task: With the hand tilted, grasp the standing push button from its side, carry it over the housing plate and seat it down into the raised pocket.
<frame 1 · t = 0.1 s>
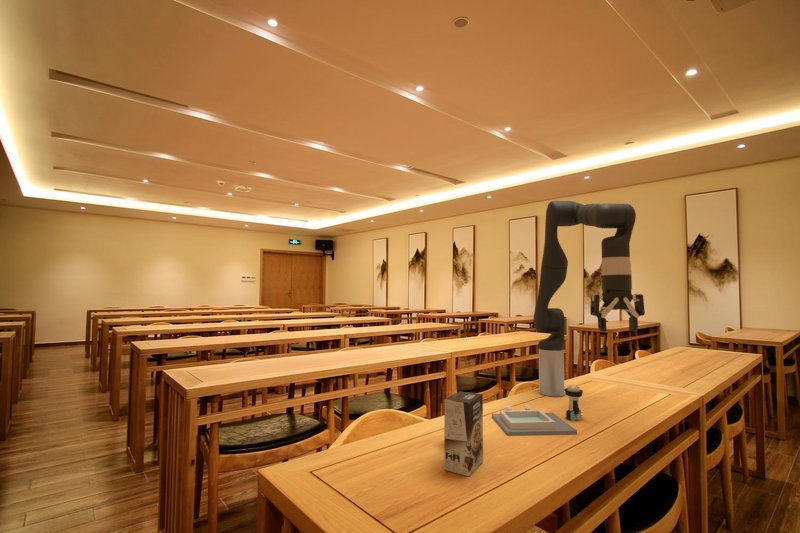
hand: (617, 331, 111), 29 cm above the table, tool pointing down, fingers open, 8 cm apart
housing: (531, 425, 120), on the table
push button: (575, 419, 125), on the table
coffee box: (464, 466, 93), on the table
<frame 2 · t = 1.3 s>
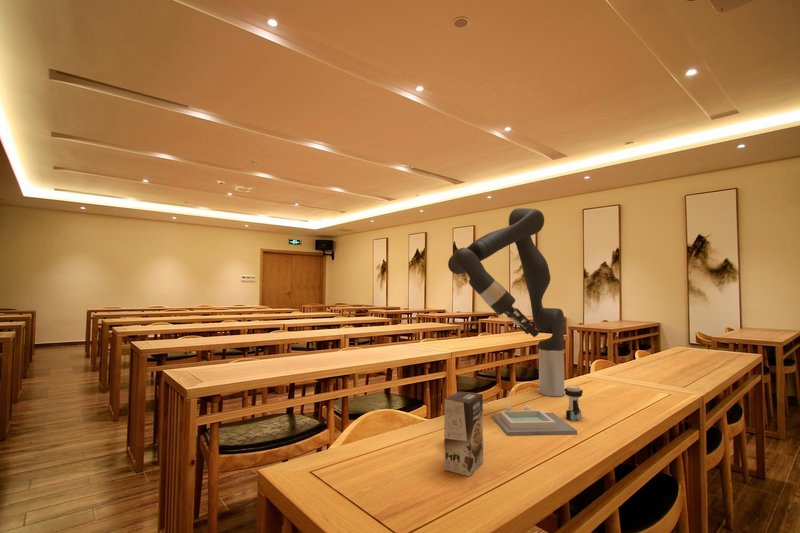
hand: (533, 333, 127), 27 cm above the table, tool tilted 45°, fingers open, 8 cm apart
nothing on the table moved.
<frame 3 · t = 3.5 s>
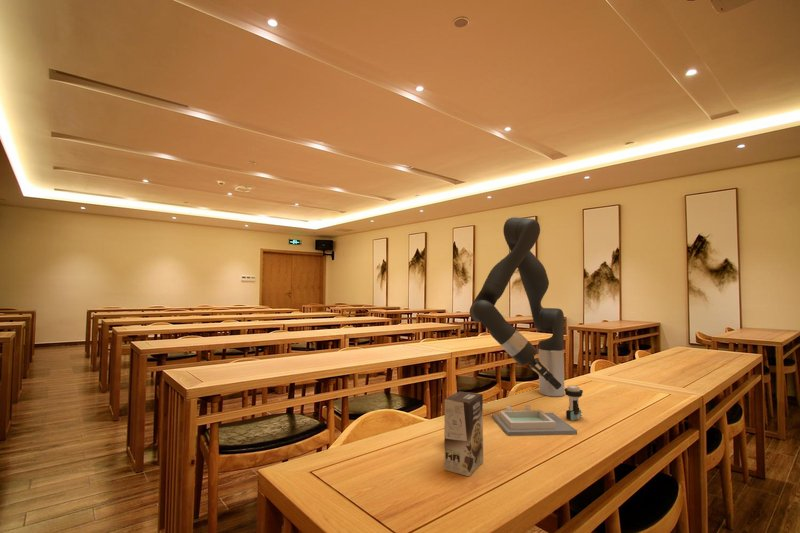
hand: (555, 384, 127), 11 cm above the table, tool tilted 45°, fingers open, 8 cm apart
nothing on the table moved.
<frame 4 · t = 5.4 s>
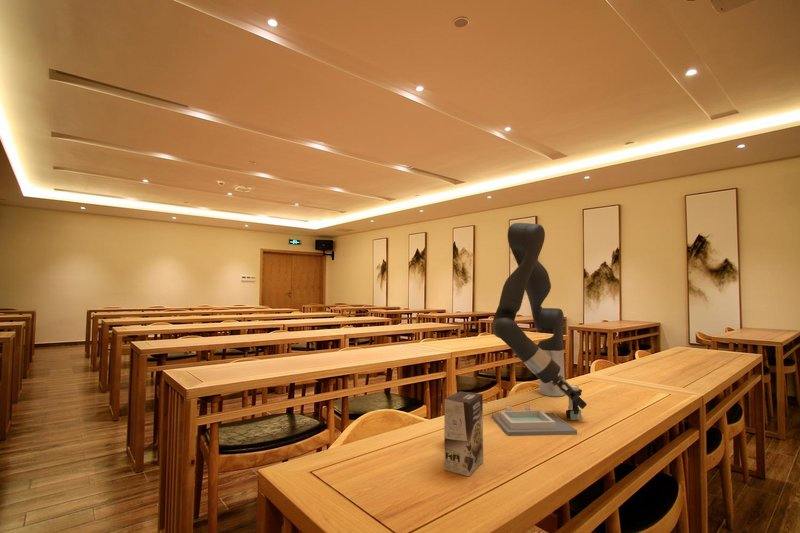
hand: (581, 403, 125), 5 cm above the table, tool tilted 45°, fingers closed on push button, 5 cm apart
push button: (575, 419, 125), on the table, touching gripper
everything else where it was.
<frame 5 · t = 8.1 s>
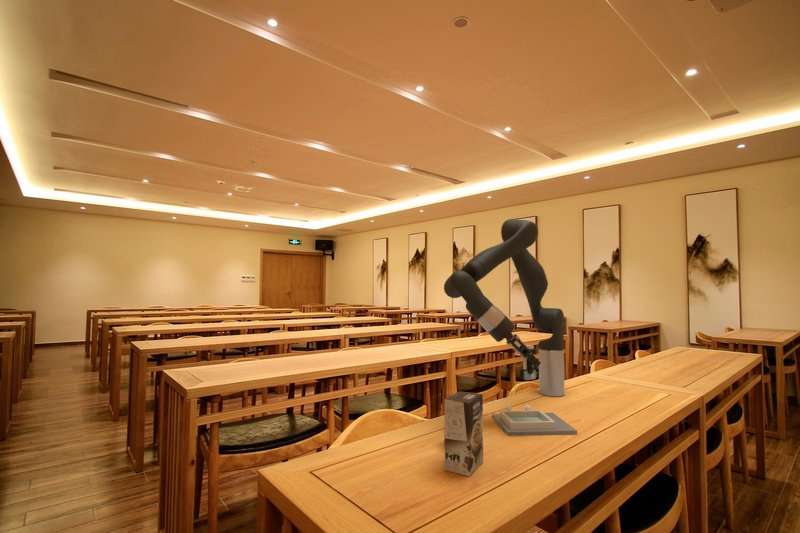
hand: (536, 363, 120), 19 cm above the table, tool tilted 45°, fingers closed on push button, 5 cm apart
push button: (529, 379, 119), point 14 cm above the table, touching gripper
everything else where it was.
when the fingers open (7 cm above the table, at t = 10.9 s): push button stays where it is, resting on housing.
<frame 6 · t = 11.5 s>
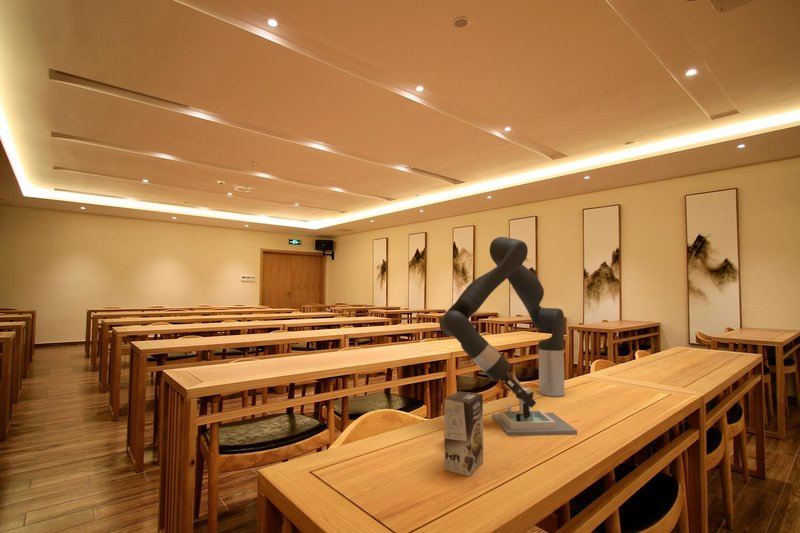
hand: (530, 401, 119), 7 cm above the table, tool tilted 45°, fingers open, 8 cm apart
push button: (526, 423, 118), point 1 cm above the table, touching housing
everything else where it was.
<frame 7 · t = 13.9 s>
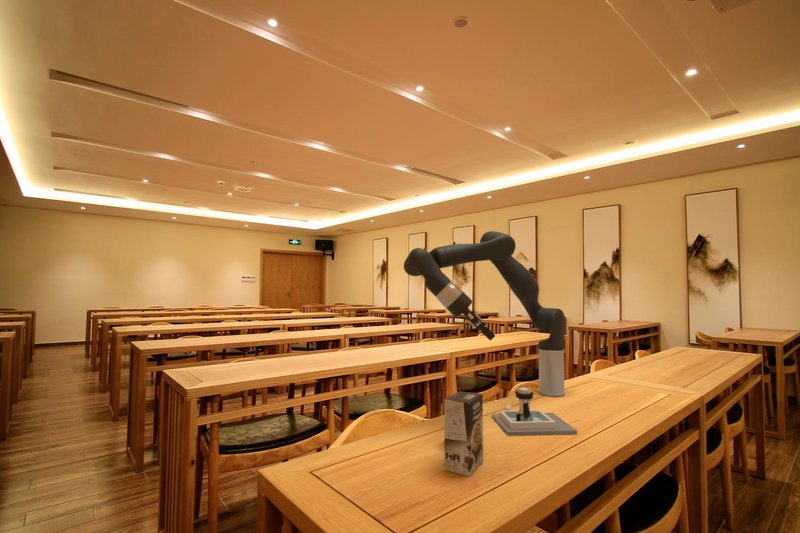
hand: (491, 336, 122), 26 cm above the table, tool tilted 45°, fingers open, 8 cm apart
nothing on the table moved.
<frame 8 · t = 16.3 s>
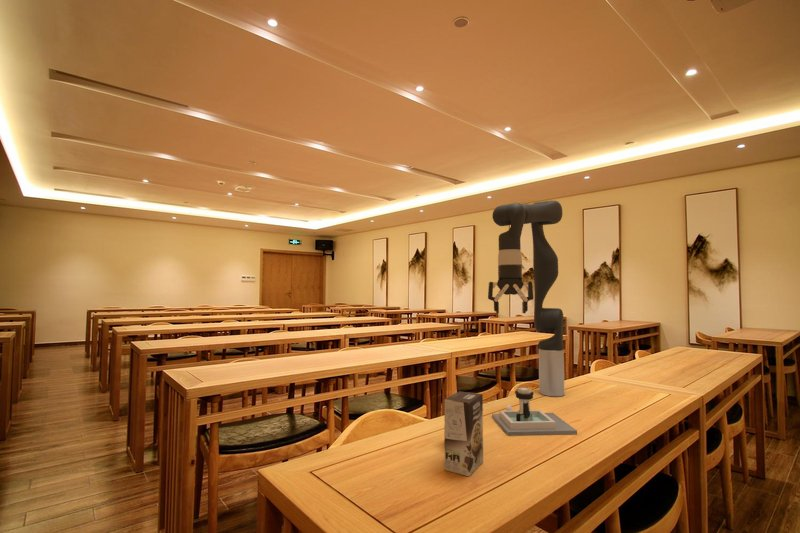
hand: (510, 313, 130), 33 cm above the table, tool pointing down, fingers open, 8 cm apart
nothing on the table moved.
at the end: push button inside the target area on the housing (0.3 cm from its centre), point 1.0 cm above the housing's base; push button tilted 0°; the gripper is holding nothing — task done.
